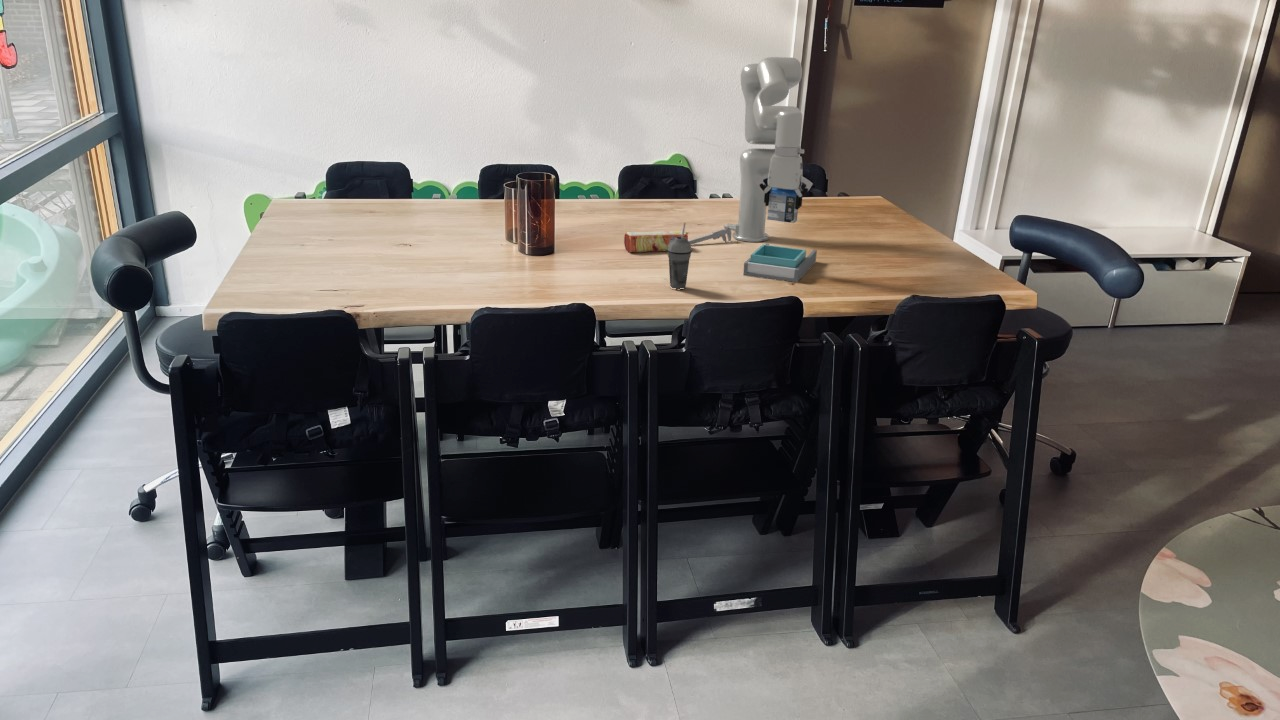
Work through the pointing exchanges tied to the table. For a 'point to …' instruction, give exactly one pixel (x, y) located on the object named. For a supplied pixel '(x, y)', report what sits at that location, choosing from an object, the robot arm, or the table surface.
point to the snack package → (650, 240)
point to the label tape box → (782, 205)
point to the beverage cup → (679, 261)
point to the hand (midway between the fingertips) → (782, 207)
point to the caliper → (714, 235)
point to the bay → (779, 269)
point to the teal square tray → (778, 256)
